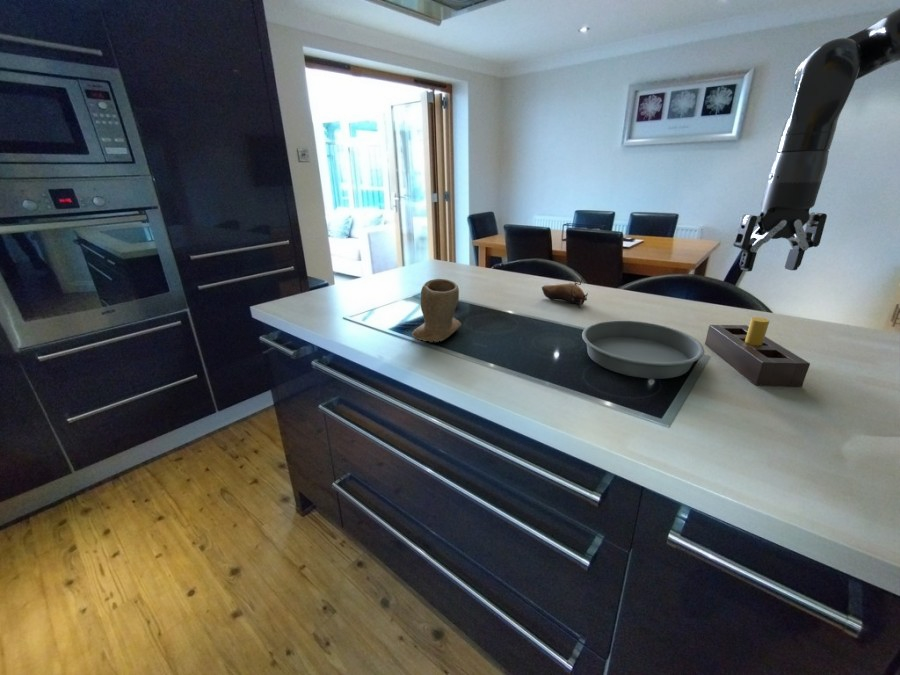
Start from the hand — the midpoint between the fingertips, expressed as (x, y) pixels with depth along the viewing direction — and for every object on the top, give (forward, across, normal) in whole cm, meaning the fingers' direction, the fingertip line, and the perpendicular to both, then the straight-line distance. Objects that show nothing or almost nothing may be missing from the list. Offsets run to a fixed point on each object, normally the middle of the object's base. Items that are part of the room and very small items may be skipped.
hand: (768, 270), depth 75 cm
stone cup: (+21, -65, +22) cm, 71 cm away
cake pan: (+21, -20, +5) cm, 29 cm away
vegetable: (+21, -26, +47) cm, 58 cm away
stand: (+21, +2, +1) cm, 21 cm away
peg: (+21, +2, +1) cm, 21 cm away
